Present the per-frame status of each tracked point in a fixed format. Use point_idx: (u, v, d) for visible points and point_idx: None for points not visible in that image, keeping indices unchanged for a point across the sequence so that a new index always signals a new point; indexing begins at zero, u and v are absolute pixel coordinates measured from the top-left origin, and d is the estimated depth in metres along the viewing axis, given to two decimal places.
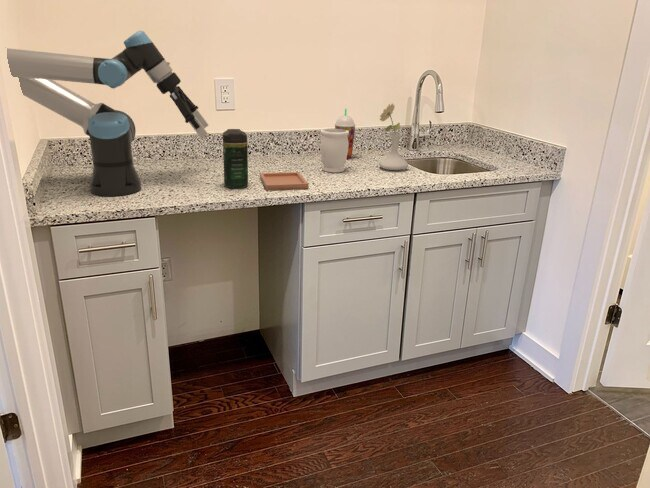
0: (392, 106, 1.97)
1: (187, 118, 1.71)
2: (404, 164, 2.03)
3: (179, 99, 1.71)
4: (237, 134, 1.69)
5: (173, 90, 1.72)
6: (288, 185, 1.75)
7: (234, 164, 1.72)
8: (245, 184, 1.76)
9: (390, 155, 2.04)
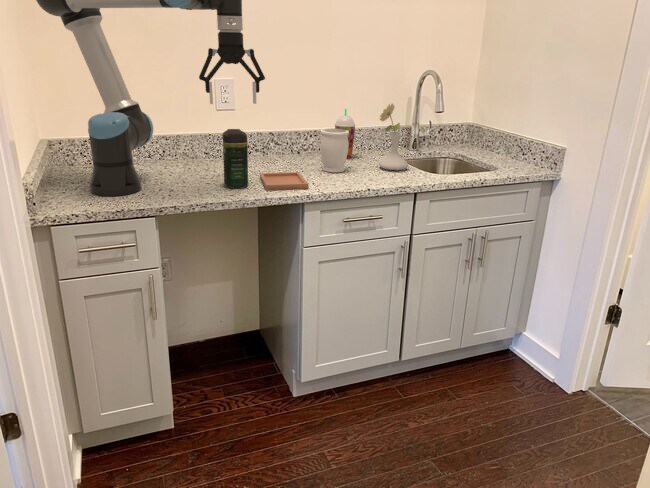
0: (392, 106, 1.97)
1: (199, 77, 1.65)
2: (404, 164, 2.03)
3: (207, 57, 1.62)
4: (237, 134, 1.69)
5: (218, 47, 1.62)
6: (288, 185, 1.75)
7: (234, 164, 1.72)
8: (245, 184, 1.76)
9: (390, 155, 2.04)
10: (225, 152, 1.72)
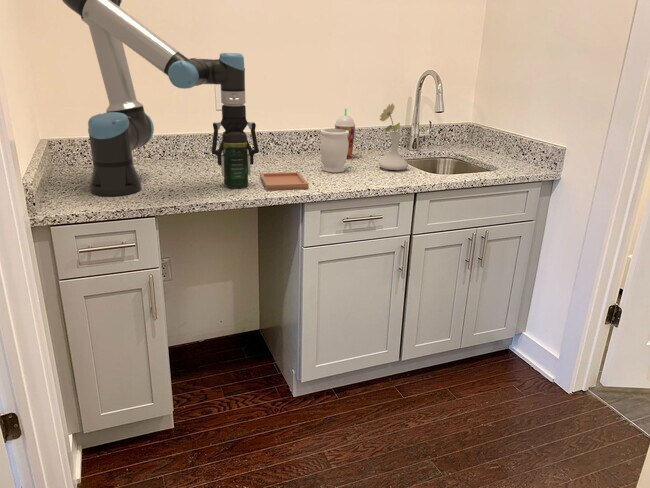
0: (392, 106, 1.97)
1: None
2: (404, 164, 2.03)
3: (214, 132, 1.71)
4: (237, 134, 1.69)
5: (222, 119, 1.70)
6: (288, 185, 1.75)
7: (234, 164, 1.72)
8: (245, 184, 1.76)
9: (390, 155, 2.04)
10: (225, 152, 1.72)
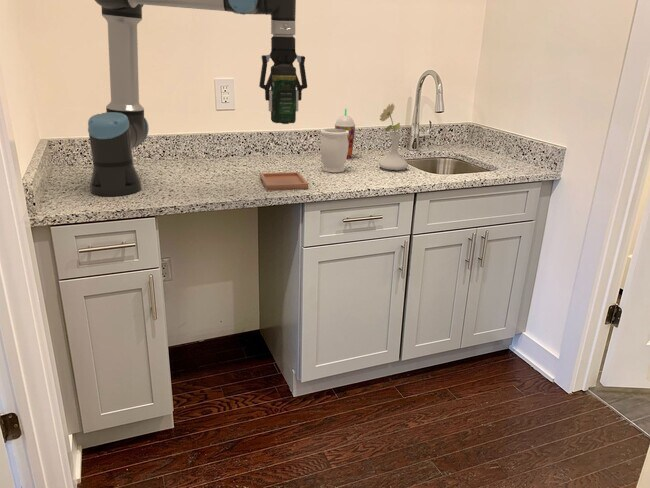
0: (392, 106, 1.97)
1: (259, 85, 1.70)
2: (404, 164, 2.03)
3: (263, 65, 1.67)
4: (287, 66, 1.65)
5: (271, 51, 1.66)
6: (288, 185, 1.75)
7: (283, 98, 1.68)
8: (293, 120, 1.72)
9: (390, 155, 2.04)
10: (274, 85, 1.68)
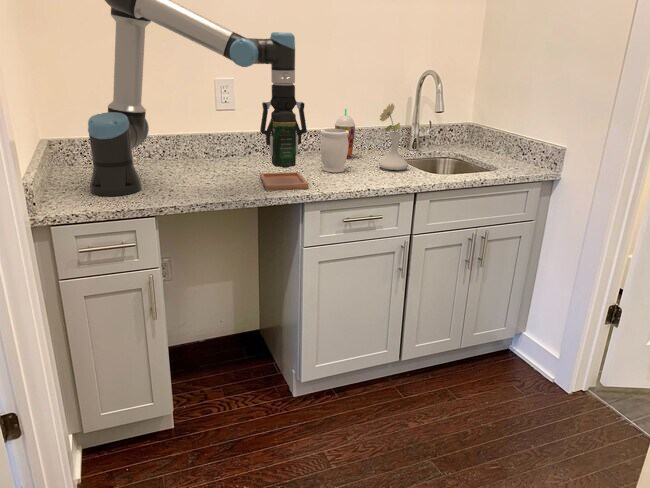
0: (392, 106, 1.97)
1: (260, 131, 1.75)
2: (404, 164, 2.03)
3: (263, 111, 1.72)
4: (287, 113, 1.71)
5: (272, 98, 1.71)
6: (288, 185, 1.75)
7: (283, 143, 1.74)
8: (293, 163, 1.77)
9: (390, 155, 2.04)
10: (274, 131, 1.73)
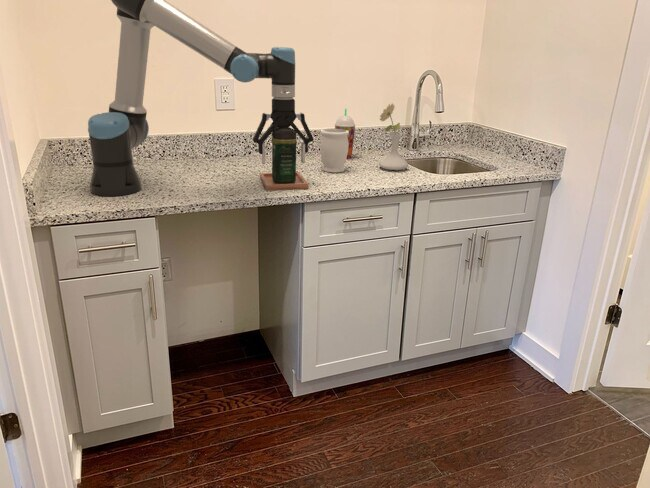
0: (392, 106, 1.97)
1: (253, 139, 1.76)
2: (404, 164, 2.03)
3: (261, 122, 1.73)
4: (287, 131, 1.73)
5: (272, 112, 1.73)
6: (288, 185, 1.75)
7: (283, 160, 1.76)
8: (293, 180, 1.79)
9: (390, 155, 2.04)
10: (275, 148, 1.75)
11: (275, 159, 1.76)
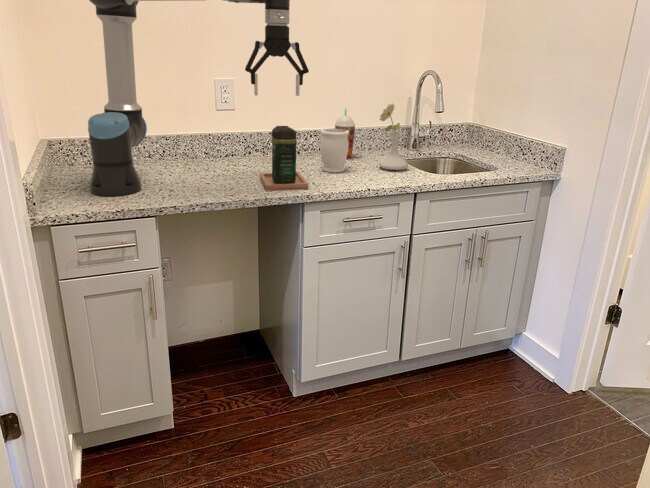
0: (392, 106, 1.97)
1: (245, 68, 1.69)
2: (404, 164, 2.03)
3: (254, 49, 1.66)
4: (287, 131, 1.73)
5: (265, 39, 1.66)
6: (288, 185, 1.75)
7: (283, 160, 1.76)
8: (293, 180, 1.79)
9: (390, 155, 2.04)
10: (275, 148, 1.75)
11: (275, 159, 1.76)
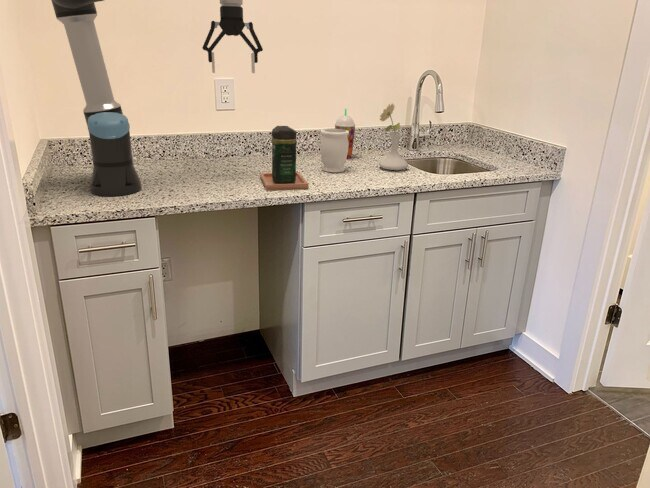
0: (392, 106, 1.97)
1: (202, 47, 1.80)
2: (404, 164, 2.03)
3: (210, 29, 1.78)
4: (287, 131, 1.73)
5: (220, 19, 1.78)
6: (288, 185, 1.75)
7: (283, 160, 1.76)
8: (293, 180, 1.79)
9: (390, 155, 2.04)
10: (275, 148, 1.75)
11: (275, 159, 1.76)
